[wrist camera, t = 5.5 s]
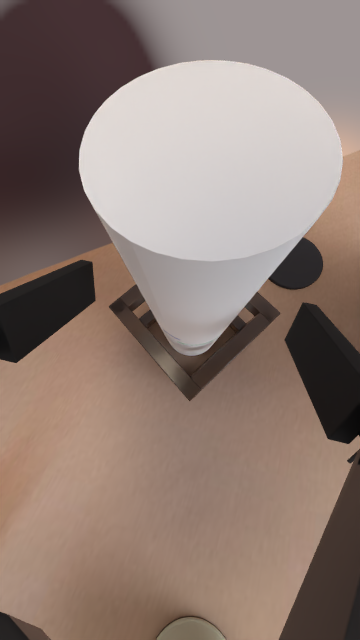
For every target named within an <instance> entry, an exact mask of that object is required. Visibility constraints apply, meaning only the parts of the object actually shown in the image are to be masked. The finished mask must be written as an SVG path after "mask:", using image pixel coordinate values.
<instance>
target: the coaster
mask: <svg viewBox="0 0 360 640" xmlns="http://www.w3.org/2000/svg"><path fill="white" fill-rule="evenodd" d="M322 268H323V260H322V256H321V254H320V252H319V250H318V249H317V247H316V246H315V245H314V244H313V243H312V242H310V241H309V240H307V239H305V238H303V237H302V239H301V240H300V241H299V242H298V243H297V245H296V246H295V247H294V248H293V249H292V251H291V252H290V253H289V254H288V255H287V257H286V258H285V259H284V260H283V261H282V262H281V264H280V265H279V266H278V267H277V268H276V270H275V271H274V272H273V273H272V274H271V276H270V277H269V279H270V280H271V281H272V282H273V283H275V284H276V285H278V286H280V287H283V288H287V289H301V288H305V287H307V286H309V285H311V284H312V283H314V282H315V281H316V280H317V279H318V278H319V276H320V274H321V272H322Z"/></svg>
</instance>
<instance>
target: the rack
mask: <svg viewBox="0 0 360 640" xmlns="http://www.w3.org/2000/svg"><path fill="white" fill-rule="evenodd" d="M144 301H145V299H144V297H143V295H142V294H141V292H140V290H139V288H138V286H137V285H135V286H133V287H132V288H131V289H130V290H128V291H127V292H126V293H125V294H123V295H122V296H121V297H120V298H118V299H117V300H116V301H115V302H114V303H112V304H111V305H110V306H109V308H110V309H111V310H112V311H113V312H114V314H115V315H116V316H117V317H118V318H119V319H120V321H121V322H122V323H123V324H124V325H125V326H126V328H127V329H128V330H129V331H130V332H131V333H132V335H133V336H134V337H135V338H136V339H137V340H138V342H139V343H140V344H141V345H142V346H143V347H144V349H145V350H146V351H147V352H148V353H149V354H150V356H151V357H152V358H153V359H154V360H155V361H156V363H157V364H158V365H159V366H160V367H161V368H162V370H163V371H164V372H165V373H166V374H167V375H168V377H169V378H170V379H171V380H172V381H173V382H174V384H175V385H176V386H177V387H178V388H179V389H180V391H181V392H182V393H183V394H184V395H185V396H186V398H187V399H188V400H189V401H191V400H192V399H193V398H194V397H195V396H196V395H197V394H198V393H199V392H200V391H201V390H202V389H203V388H204V387H205V386H206V385H207V384H208V383H209V382H210V381H211V380H212V379H213V378H214V377H215V376H217V375H218V374H219V373H220V372H221V371H222V370H223V369H224V368H225V367H226V366H227V365H228V364H229V363H230V362H231V361H232V360H233V359H234V358H235V357H236V356H237V355H238V354H239V353H240V352H241V351H242V350H243V349H244V348H245V347H246V346H248V345H249V344H250V343H251V342H252V341H253V340H254V339H255V338H256V337H257V336H258V335H259V334H260V333H261V332H262V331H263V330H264V329H265V328H266V327H267V326H268V325H269V324H270V323H271V322H272V321H273V320H274V319H275V318H276V317H278V316H279V315H280V312H279V311H278V310H277V309H276V308H274V307H273V306H272V305H271V304H270V303H269V302H268V301H267V300H266V299H265V298H263V297H262V296H261V295H260V294H259V293H258V292H256V294H255V295H254V296H253V297H252V298H251V300H250V301H249V302H248V303H247V304H246V305H245V308H246V309H247V310H249V311H250V312H251V313H252V314H253V315H254V317H253V318H252V319H251V320H250V321H248V322H247V323H245V322H244V321H243V320H242V319H241V318H240V317H239V316H238V315H237V316H236V317H235V319H234V320H233V321H232V322H231V323H230V325H229V326H230V327H231V328H232V329H233V330H234V331H235V332H236V333H235V334H234V335H233V336H232V337H231V338H230V339H229V340H228V341H227V342H226V343H225V344H224V345H223V346H222V347H220V348H219V349H218V350H217V351H216V352H215V353H214V354H213V355H212V356H211V357H210V358H209V359H208V360H207V361H206V362H205V363H204V364H202V365H201V366H200V367H199V368H198V369H197V370H196V371H195V372H194V373H193V374H192V375H191V376H190V377H189V375H188V374H187V373H186V372H185V371H184V370H183V369H182V368H181V366H180V365H179V364H178V363H177V362H176V361H175V360H174V358H173V357H172V356H171V355H170V354H169V353H168V352H167V351H166V349H165V348H164V347H163V346H162V345H161V344H160V343H159V341H158V340H157V339H156V338H155V337H154V336H153V335H152V334H151V332H150V331H149V330H148V329H147V328H148V327H149V326H151V325H152V324H153V323H154V322H155V321H156V318H155V316H154V315H153V313H152V311H151V309H150V310H149V311H148V312H147V313H145V314H144V315H143V316H142V317H141V318H139V319H138V318H137V317H136V315H135V314H134V313H133V312H132V311H134V310H135V309H136V308H137V307H138V306H140V305H141V304H142V303H143V302H144Z"/></svg>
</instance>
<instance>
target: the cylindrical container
mask: <svg viewBox="0 0 360 640" xmlns="http://www.w3.org/2000/svg"><path fill="white" fill-rule="evenodd" d="M342 164H343V157H342V149H341V141H340V138H339V135H338V133H337V131H336V128H335V125H334V123H333V121H332V119H331V118H330V116H329V115H328V114H327V112H326V111H325V110H324V108H323V107H322V105H321V104H320V103H319V102H318V101H317V100H316V99H315V98H314V97H313V96H311V95H310V94H309V93H308V92H307V91H306V90H305V89H304V88H302V87H301V86H299V85H297V84H296V83H294V82H293V81H291V80H289V79H288V78H286V77H284V76H282V75H279V74H277V73H275V72H273V71H270V70H268V69H264V68H261V67H257V66H254V65H250V64H245V63H239V62H232V61H219V60H218V61H217V60H201V61H193V62H185V63H179V64H175V65H171V66H167V67H163V68H159V69H156V70H154V71H152V72H150V73H147V74H145V75H142V76H140V77H138V78H136V79H134V80H133V81H131V82H130V83H128V84H126V85H124V86H123V87H121V88H120V89H119V90H117V91H116V92H115V93H114V94H113V95H112V96H110V97H109V98H108V99H107V100H106V101H105V102H104V103H103V105H102V106H101V107H100V108H99V109H98V110H97V111H96V113H95V114H94V116H93V117H92V119H91V121H90V123H89V125H88V126H87V128H86V130H85V133H84V136H83V140H82V144H81V147H80V155H79V171H80V175H81V180H82V184H83V187H84V191H85V193H86V195H87V196H88V198H89V200H90V202H91V204H92V206H93V207H94V209H95V211H96V213H97V215H98V216H99V218H100V220H101V222H102V224H103V225H104V227H105V229H106V231H107V232H108V234H109V236H110V238H111V239H112V242H113V243H114V245H115V247H116V249H117V251H118V252H119V254H120V256H121V258H122V260H123V261H124V263H125V265H126V267H127V268H128V270H129V272H130V274H131V276H132V277H133V279H134V281H135V283H136V285H137V286H138V288H139V290H140V292H141V294H142V295H143V297H144V299H145V301H146V302H147V304H148V306H149V308H150V309H151V311H152V313H153V315H154V316H155V318H156V320H157V322H158V324H159V325H160V327H161V329H162V331H163V333H164V334H165V336H166V338H167V340H168V341H169V343H170V345H171V346H172V347H173V349H175V350H176V351H177V352H179V353H181V354H183V355H187V356H196V355H200V354H202V353H204V352H206V351H207V350H208V349H209V348H210V347H211V346H212V345H213V344H214V343H215V341H216V340H217V339H218V338H219V337H220V335H221V334H222V333H223V332H224V331H225V329H226V328H227V327H228V326H229V325H230V323H231V322H232V321H233V320H234V319H235V317H236V316H237V315H238V314H239V313H240V311H241V310H242V309H243V308H244V307H245V305H246V304H247V303H248V302H249V301H250V300H251V298H252V297H253V296H254V295H255V294H256V292H257V291H258V290H259V289H260V288H261V286H262V285H263V284H264V283H265V282H266V280H267V279H268V278H269V277H270V276H271V274H272V273H273V272H274V271H275V270H276V268H277V267H278V266H279V265H280V264H281V262H282V261H283V260H284V259H285V258H286V257H287V255H288V254H289V253H290V252H291V251H292V249H293V248H294V247H295V246H296V245H297V243H298V242H299V241H300V240H301V239H302V237H303V236H304V235H305V234H306V233H307V231H308V230H309V229H310V228H311V227H312V225H313V224H314V223H315V222H316V221H317V219H318V218H319V217H320V216H321V214H322V213H323V212H324V210H325V209H326V207H327V206H328V205H329V203H330V202H331V201H332V199H333V196H334V194H335V192H336V189H337V187H338V185H339V182H340V177H341V171H342Z"/></svg>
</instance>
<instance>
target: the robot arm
mask: <svg viewBox="0 0 360 640" xmlns="http://www.w3.org/2000/svg"><path fill="white" fill-rule="evenodd" d="M94 301H96V300H95V288H94V276H93V264H92V262H90V261H85V260H80V261H77V262H75V263H72V264H70V265H68V266H65V267H63V268H61V269H58V270H56V271H53V272H51V273H49V274H46V275H44V276H42V277H39V278H37V279H34V280H32V281H30V282H27V283H25V284H23V285H20V286H18V287H16V288H13V289H11V290H8V291H6V292H4V293H1V294H0V359H1V360H5V361H9V362H14V363H17V362H18V361H20V360H21V359H22V358H23V357H25V356H26V355H27V354H28V353H30V352H31V351H32V350H34V349H35V348H36V347H37V346H39V345H40V344H41V343H42V342H44V341H45V340H46V339H48V338H49V337H50V336H51V335H53V334H54V333H55V332H56V331H58V330H59V329H60V328H61V327H63V326H64V325H65V324H67V323H68V322H69V321H70V320H72V319H73V318H74V317H75V316H77V315H78V314H79V313H80V312H82V311H83V310H84V309H86V308H87V307H88V306H89V305H91V304H92V303H93V302H94ZM285 342H286V344H287V346H288V349H289V351H290V353H291V356H292V358H293V360H294V362H295V365H296V367H297V369H298V372H299V374H300V376H301V378H302V381H303V383H304V385H305V388H306V390H307V392H308V394H309V397H310V399H311V401H312V404H313V406H314V408H315V410H316V413H317V415H318V417H319V420H320V422H321V424H322V426H323V429H324V431H325V433H326V436H327V438H328V439H330V440H334V441H338V442H342V443H347V444H349V443H350V442H351V441H352V440H353V439H354V438H355V437H356V436H357V435H359V436H360V354H359V352H358V351H357V350H356V349H355V348H354V347H353V346H352V344H351V343H350V342H349V341H348V340H347V339H346V338H345V337H344V335H343V334H342V333H341V332H340V331H339V330H338V329H337V328H336V326H335V325H334V324H333V323H332V322H331V321H330V320H329V319H328V317H327V316H326V315H325V314H324V313H323V312H322V311H321V309H320V308H319V307H318V306H317V305H314V304H309V303H304V302H303V303H302V305H301V307H300V309H299V311H298V313H297V316H296V318H295V320H294V322H293V324H292V326H291V328H290V330H289V332H288V334H287V336H286V338H285ZM347 461H348V462H349V463H352V462H353V461H354V462H353V464H352V467H351V469H350V471H349V474H348V476H347V478H346V481H345V483H344V486H343V488H342V490H341V493H340V495H339V497H338V500H337V502H336V505H335V507H334V509H333V512H332V514H331V516H330V519H329V521H328V524H327V526H326V528H325V531H324V533H323V536H322V538H321V540H320V543H319V545H318V547H317V550H316V552H315V555H314V557H313V559H312V562H311V564H310V566H309V569H308V571H307V574H306V576H305V578H304V581H303V583H302V585H301V588H300V590H299V593H298V595H297V597H296V600H295V602H294V605H293V607H292V609H291V612H290V614H289V616H288V619H287V621H286V624H285V626H284V628H283V631H282V633H281V635H280V638H279V640H360V449H359V450H358V451H357V452H356V453H355V454H354V455H353V456H352V457H351V458H350V459H348V460H347ZM0 640H51V639H50V638H49V637H48V636H47V635H46V634H45V633H44V632H43V630H42V629H40V628H38V627H35V626H33V625H31V624H28V623H26V622H24V621H21V620H19V619H17V618H14V617H12V616H10V615H7V614H5V613H2V612H0Z"/></svg>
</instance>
